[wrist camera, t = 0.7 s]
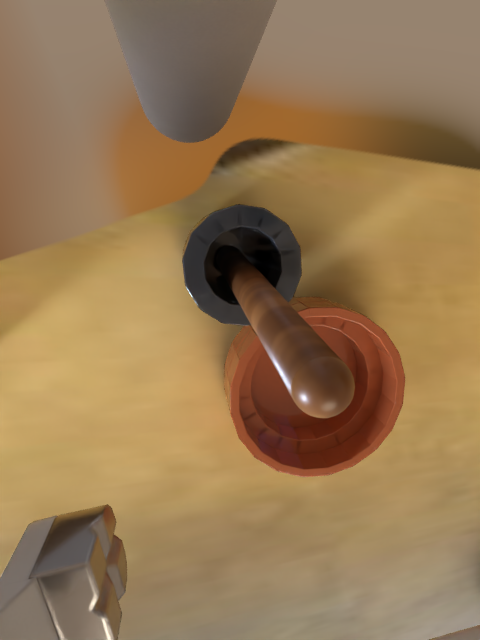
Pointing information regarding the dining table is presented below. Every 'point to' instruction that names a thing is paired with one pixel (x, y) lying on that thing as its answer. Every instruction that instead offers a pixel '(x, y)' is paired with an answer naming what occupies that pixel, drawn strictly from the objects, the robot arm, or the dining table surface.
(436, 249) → the dining table surface
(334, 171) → the dining table surface
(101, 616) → the robot arm
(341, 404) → the stirring stick
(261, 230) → the utensil pot
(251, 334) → the bowl
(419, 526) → the dining table surface
